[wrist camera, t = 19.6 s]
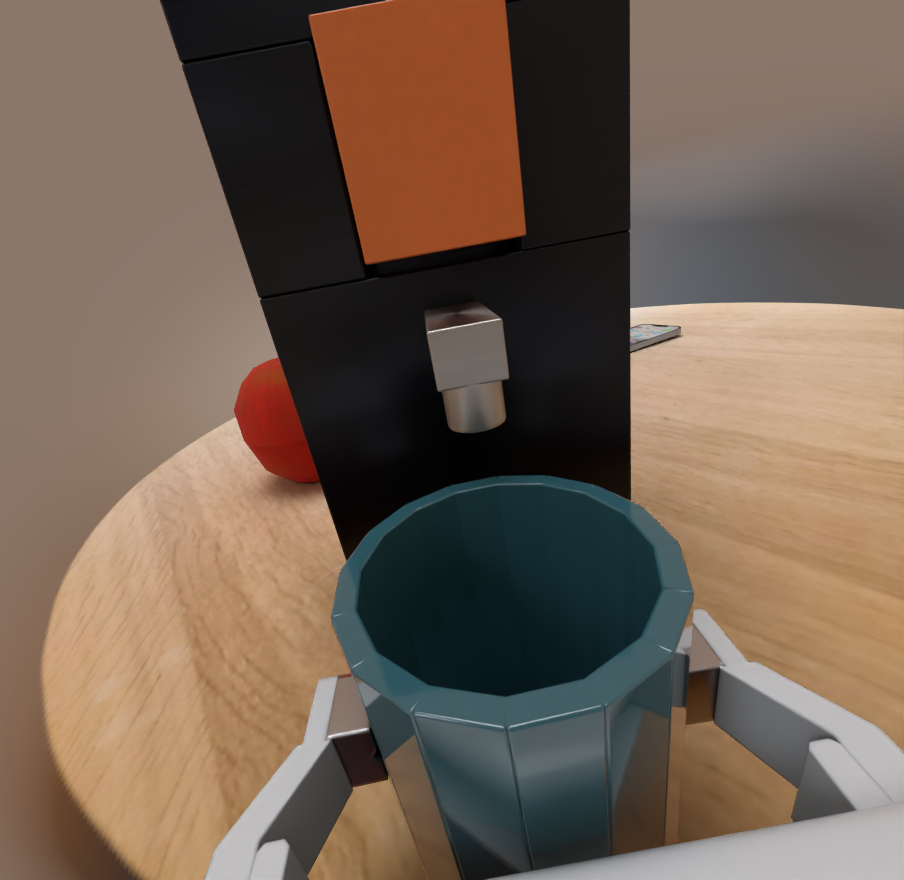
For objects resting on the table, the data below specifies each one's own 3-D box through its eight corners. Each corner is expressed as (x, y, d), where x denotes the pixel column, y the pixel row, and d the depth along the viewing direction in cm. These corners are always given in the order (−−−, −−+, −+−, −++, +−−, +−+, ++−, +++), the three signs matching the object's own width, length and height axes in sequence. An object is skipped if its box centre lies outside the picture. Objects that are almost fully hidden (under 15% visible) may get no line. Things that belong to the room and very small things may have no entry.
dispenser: (687, 700, 16) (768, -384, 6) (366, 759, 16) (-35, -235, 6) (564, 498, 29) (531, 51, 20) (390, 530, 29) (273, 99, 20)
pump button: (526, 235, 12) (503, -23, 9) (365, 265, 12) (307, 14, 9) (506, 239, 14) (484, 40, 12) (375, 263, 14) (332, 69, 12)
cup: (733, 852, 11) (780, 569, 7) (514, 1105, 8) (422, 852, 5) (550, 662, 16) (527, 451, 13) (386, 774, 14) (301, 547, 10)
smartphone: (566, 349, 62) (642, 323, 67) (566, 356, 63) (642, 330, 68) (603, 355, 56) (685, 326, 61) (603, 363, 56) (684, 334, 61)
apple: (382, 440, 44) (353, 327, 40) (361, 490, 35) (320, 350, 30) (288, 454, 45) (249, 345, 41) (243, 506, 36) (187, 373, 31)
